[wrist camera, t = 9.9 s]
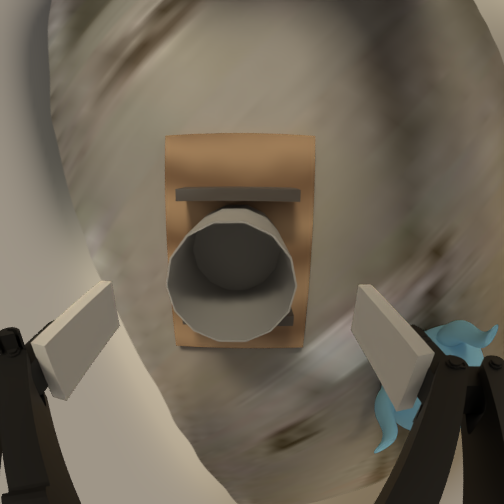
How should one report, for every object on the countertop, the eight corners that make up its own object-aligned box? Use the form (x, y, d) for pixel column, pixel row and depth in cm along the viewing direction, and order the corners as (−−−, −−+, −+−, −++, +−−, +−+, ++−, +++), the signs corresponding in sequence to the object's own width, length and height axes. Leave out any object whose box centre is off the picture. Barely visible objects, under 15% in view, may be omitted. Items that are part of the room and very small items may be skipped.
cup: (258, 189, 27) (263, 197, 17) (294, 266, 29) (315, 311, 19) (178, 228, 28) (143, 257, 18) (217, 301, 30) (204, 357, 20)
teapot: (341, 389, 34) (368, 458, 23) (439, 283, 31) (501, 326, 19) (404, 423, 37) (432, 474, 25) (483, 340, 34) (528, 380, 22)
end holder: (168, 137, 26) (152, 129, 21) (312, 137, 27) (326, 130, 22) (178, 340, 32) (168, 366, 27) (301, 341, 32) (309, 368, 27)
